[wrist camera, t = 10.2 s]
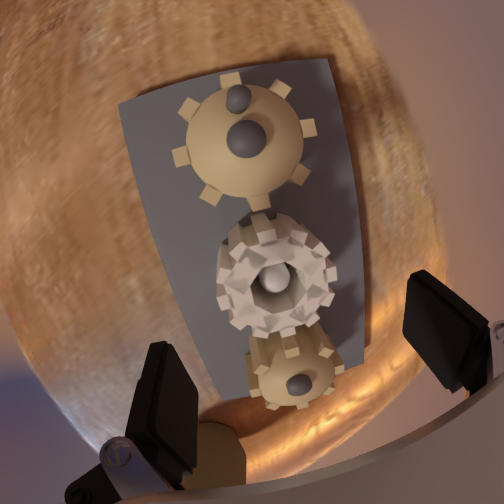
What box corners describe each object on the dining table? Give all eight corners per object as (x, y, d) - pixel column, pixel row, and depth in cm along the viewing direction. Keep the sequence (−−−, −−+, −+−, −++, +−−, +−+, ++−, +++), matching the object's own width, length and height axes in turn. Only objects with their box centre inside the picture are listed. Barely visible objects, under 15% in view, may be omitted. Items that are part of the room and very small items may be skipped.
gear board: (125, 108, 15) (72, 86, 8) (319, 64, 15) (368, 25, 8) (222, 389, 24) (224, 452, 17) (357, 353, 25) (389, 406, 18)
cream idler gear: (205, 227, 17) (200, 247, 14) (307, 202, 17) (329, 215, 14) (232, 314, 20) (234, 349, 16) (321, 291, 20) (340, 320, 16)
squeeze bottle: (230, 410, 26) (244, 562, 9) (252, 441, 29) (269, 562, 12) (165, 420, 26) (153, 557, 9) (194, 450, 29) (195, 563, 12)
